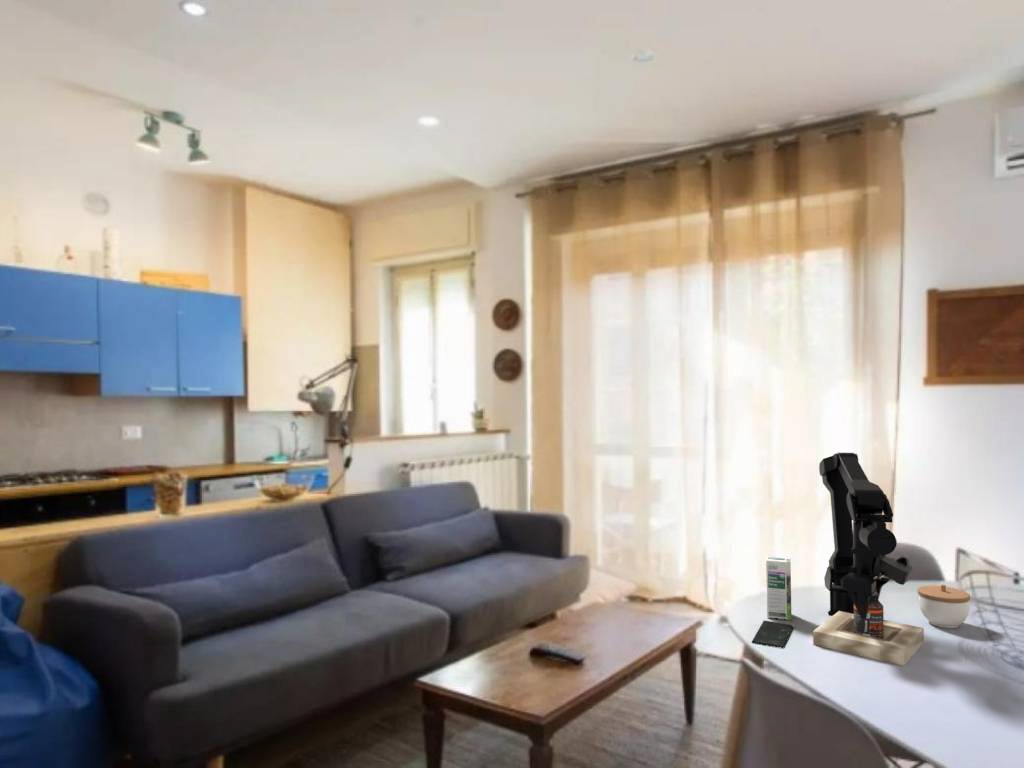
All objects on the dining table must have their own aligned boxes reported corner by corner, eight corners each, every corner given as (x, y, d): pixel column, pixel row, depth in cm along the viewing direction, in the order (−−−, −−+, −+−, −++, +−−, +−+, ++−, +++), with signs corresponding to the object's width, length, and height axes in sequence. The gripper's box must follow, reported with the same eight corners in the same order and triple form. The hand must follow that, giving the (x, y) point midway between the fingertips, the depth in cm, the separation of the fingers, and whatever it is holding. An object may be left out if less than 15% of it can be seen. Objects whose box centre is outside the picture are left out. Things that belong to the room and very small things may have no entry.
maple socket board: (813, 644, 152) (813, 630, 152) (839, 623, 165) (838, 610, 165) (903, 665, 140) (903, 651, 140) (924, 641, 153) (923, 627, 153)
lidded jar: (917, 613, 171) (917, 576, 171) (968, 620, 166) (968, 582, 166) (918, 627, 162) (917, 587, 162) (972, 634, 157) (971, 594, 157)
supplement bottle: (872, 649, 149) (871, 597, 149) (848, 640, 154) (847, 590, 154) (889, 644, 151) (889, 593, 151) (865, 636, 157) (864, 586, 157)
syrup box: (766, 618, 169) (765, 560, 169) (767, 611, 175) (766, 554, 175) (791, 621, 167) (790, 562, 167) (791, 613, 173) (790, 556, 173)
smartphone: (751, 641, 153) (763, 619, 166) (751, 645, 153) (763, 624, 166) (783, 646, 150) (793, 624, 163) (783, 651, 150) (793, 628, 163)
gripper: (896, 558, 140) (897, 633, 140) (918, 542, 154) (919, 611, 154) (839, 549, 148) (840, 621, 148) (864, 535, 162) (865, 601, 161)
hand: (868, 613), depth 153 cm, fingers open, 7 cm apart
